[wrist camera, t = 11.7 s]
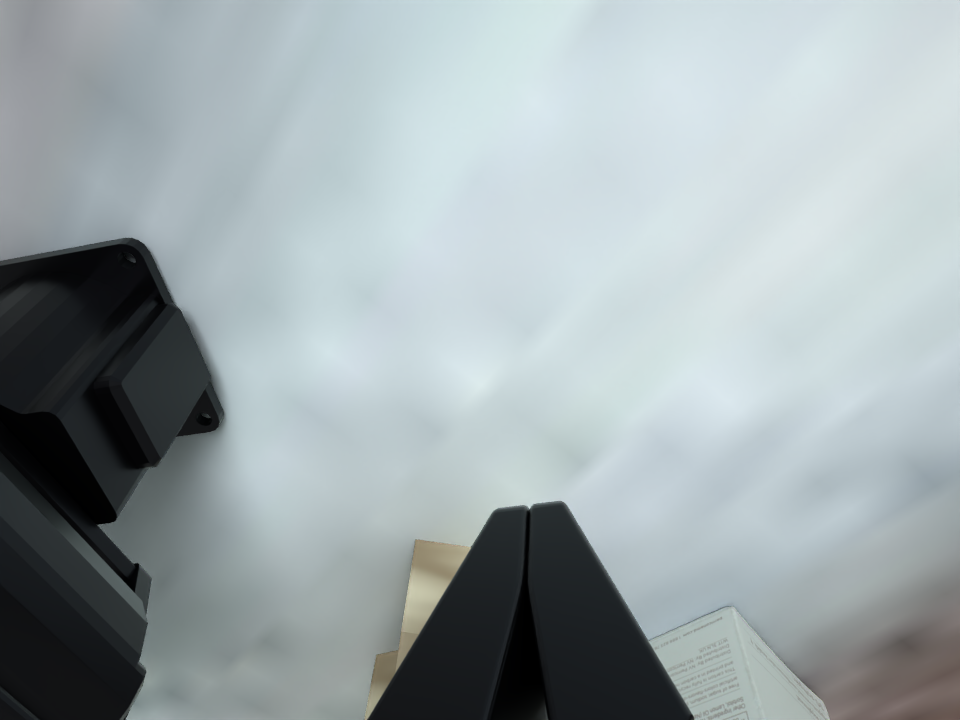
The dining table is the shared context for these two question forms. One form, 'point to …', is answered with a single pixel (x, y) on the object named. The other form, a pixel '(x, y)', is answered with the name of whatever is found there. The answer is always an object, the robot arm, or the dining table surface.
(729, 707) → the supplement box
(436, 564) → the marked block
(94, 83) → the dining table surface
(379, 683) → the marked block
